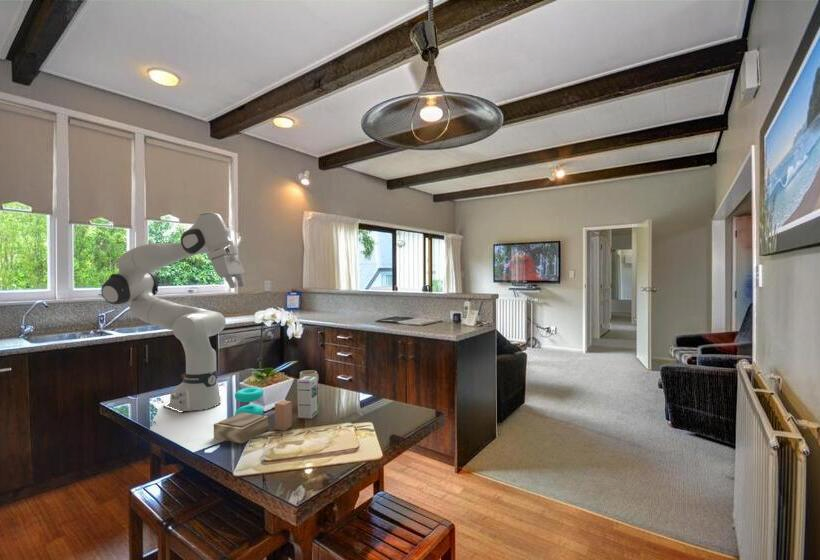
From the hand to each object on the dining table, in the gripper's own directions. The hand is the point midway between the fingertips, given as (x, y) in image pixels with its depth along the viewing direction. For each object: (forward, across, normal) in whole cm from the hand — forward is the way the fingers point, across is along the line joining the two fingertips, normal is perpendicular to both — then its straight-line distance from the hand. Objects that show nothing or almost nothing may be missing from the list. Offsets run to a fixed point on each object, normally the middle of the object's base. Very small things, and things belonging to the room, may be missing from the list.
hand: (237, 287), depth 146 cm
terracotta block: (+53, +15, +1) cm, 55 cm away
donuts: (+48, +2, -14) cm, 50 cm away
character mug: (+55, -12, +5) cm, 57 cm away
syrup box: (+56, +4, +7) cm, 56 cm away
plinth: (+48, +19, -11) cm, 53 cm away
